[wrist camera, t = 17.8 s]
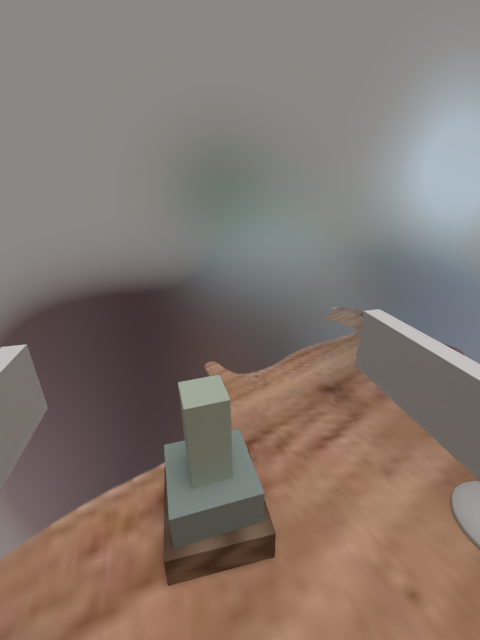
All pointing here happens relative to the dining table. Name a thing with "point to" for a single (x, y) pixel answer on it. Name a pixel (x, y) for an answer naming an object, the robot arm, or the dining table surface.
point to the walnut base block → (217, 549)
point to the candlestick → (468, 509)
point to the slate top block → (211, 496)
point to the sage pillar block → (207, 430)
